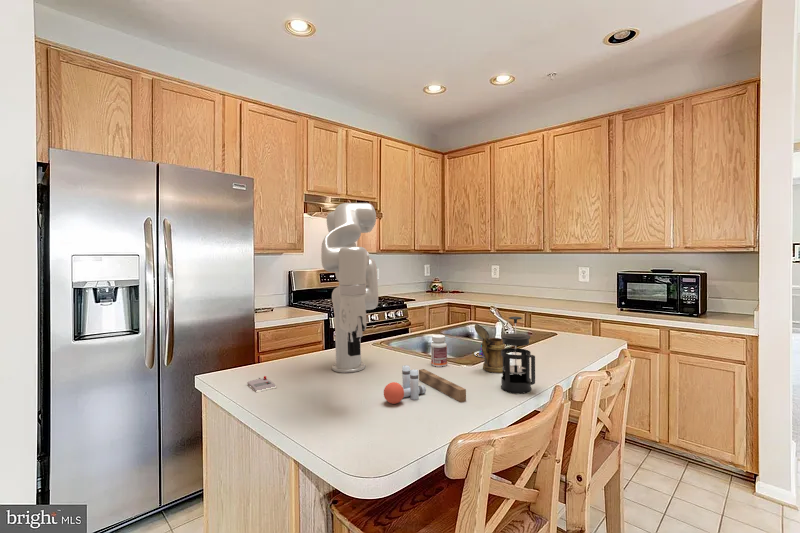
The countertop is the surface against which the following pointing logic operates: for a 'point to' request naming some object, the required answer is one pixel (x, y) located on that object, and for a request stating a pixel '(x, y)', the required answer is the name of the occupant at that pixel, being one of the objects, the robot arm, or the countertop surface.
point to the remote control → (261, 384)
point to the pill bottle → (438, 351)
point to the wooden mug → (491, 351)
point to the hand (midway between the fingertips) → (354, 354)
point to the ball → (393, 392)
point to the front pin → (421, 389)
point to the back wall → (443, 385)
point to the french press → (513, 375)
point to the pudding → (479, 351)
